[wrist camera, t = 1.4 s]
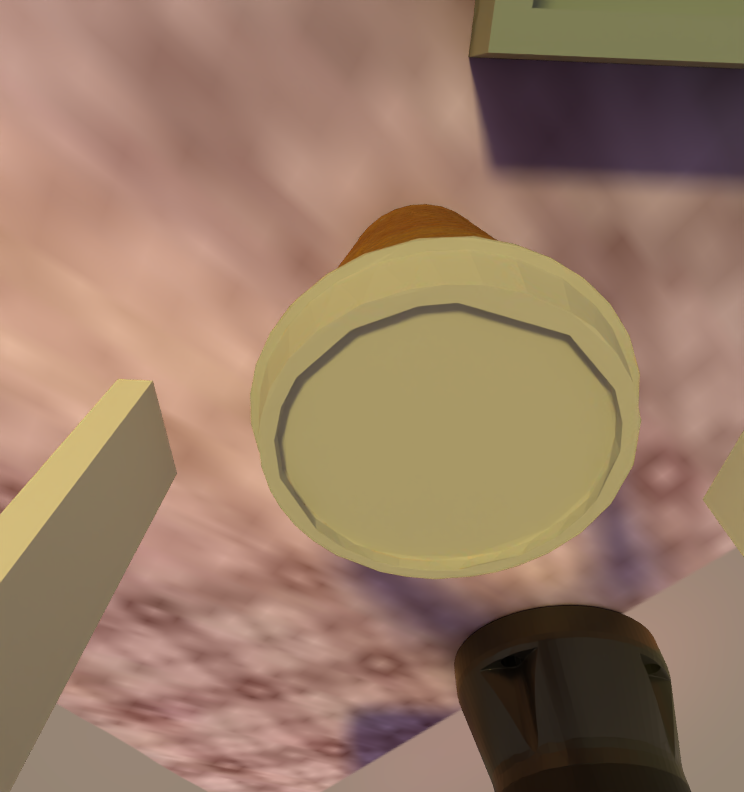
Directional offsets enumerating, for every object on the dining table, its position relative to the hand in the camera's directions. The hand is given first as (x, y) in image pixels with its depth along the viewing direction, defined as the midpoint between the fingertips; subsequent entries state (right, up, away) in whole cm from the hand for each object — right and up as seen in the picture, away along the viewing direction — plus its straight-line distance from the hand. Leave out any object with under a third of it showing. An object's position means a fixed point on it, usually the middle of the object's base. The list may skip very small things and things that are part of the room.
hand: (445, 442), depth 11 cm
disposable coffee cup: (0, +6, +10) cm, 12 cm away
